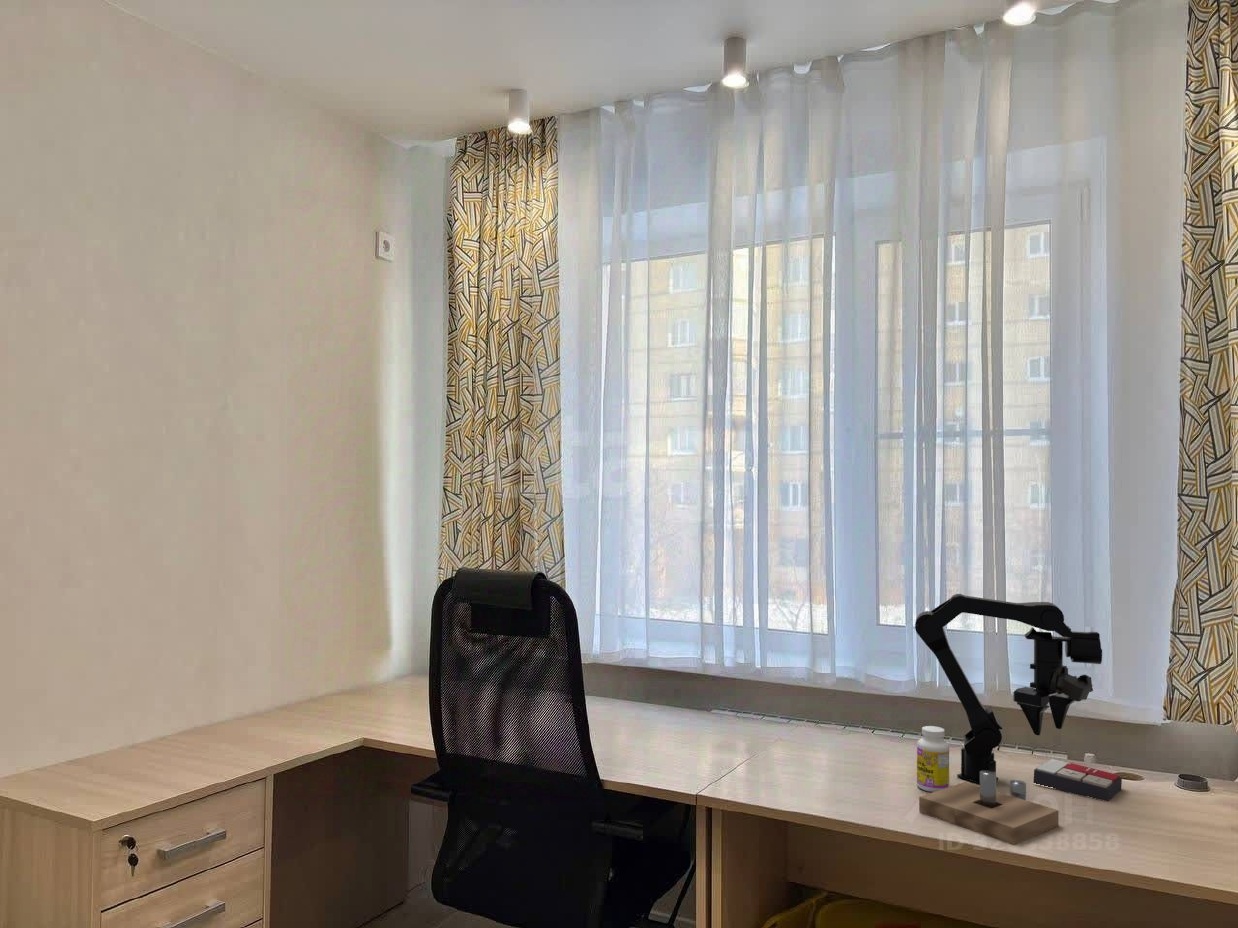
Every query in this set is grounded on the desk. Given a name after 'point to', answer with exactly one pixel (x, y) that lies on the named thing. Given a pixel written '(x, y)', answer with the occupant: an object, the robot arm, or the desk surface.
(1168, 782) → the desk surface
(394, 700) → the desk surface
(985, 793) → the long metal pin
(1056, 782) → the dark boxy piece
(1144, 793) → the desk surface
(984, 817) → the walnut hole board
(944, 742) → the supplement bottle
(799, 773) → the desk surface
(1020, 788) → the short metal pin
